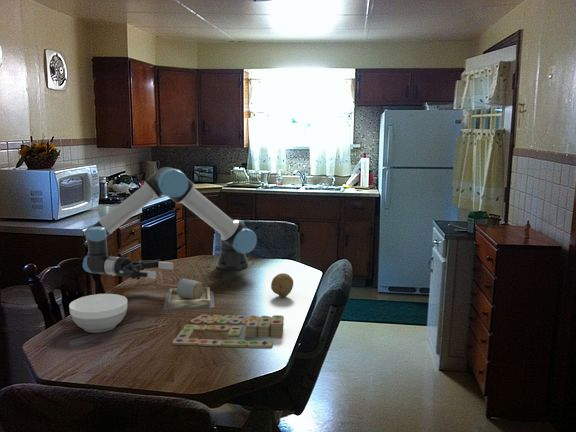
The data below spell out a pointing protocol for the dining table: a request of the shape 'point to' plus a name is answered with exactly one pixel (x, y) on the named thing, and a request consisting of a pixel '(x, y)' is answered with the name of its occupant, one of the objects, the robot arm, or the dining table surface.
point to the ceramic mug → (189, 289)
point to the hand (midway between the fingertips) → (164, 270)
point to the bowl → (98, 311)
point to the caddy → (184, 302)
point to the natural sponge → (282, 284)
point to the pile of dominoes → (234, 330)
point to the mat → (190, 307)
